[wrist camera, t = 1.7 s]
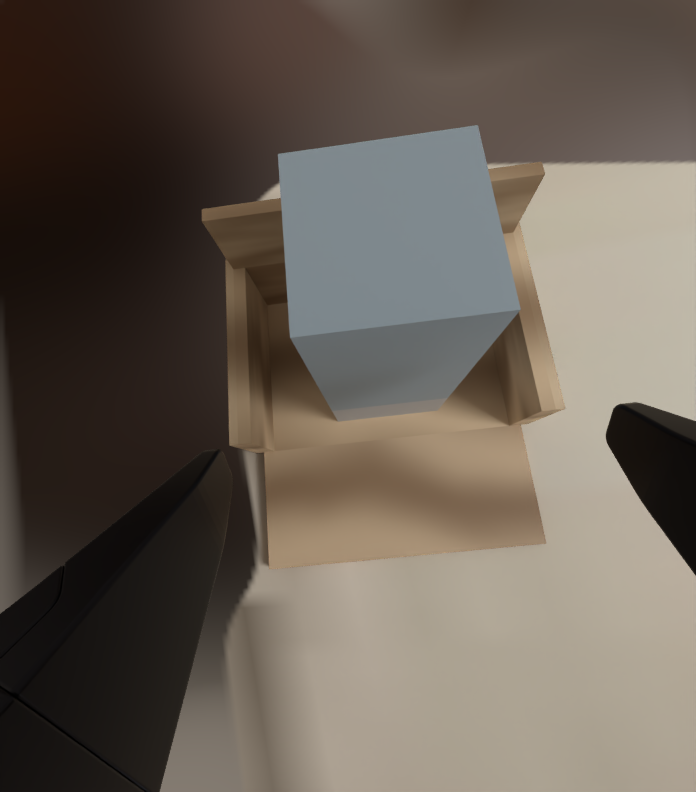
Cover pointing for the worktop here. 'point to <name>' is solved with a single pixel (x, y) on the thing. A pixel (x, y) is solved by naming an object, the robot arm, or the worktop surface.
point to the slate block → (393, 268)
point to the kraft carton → (383, 436)
